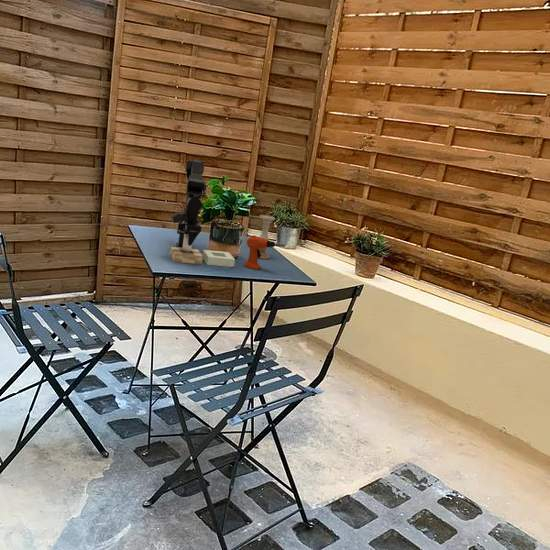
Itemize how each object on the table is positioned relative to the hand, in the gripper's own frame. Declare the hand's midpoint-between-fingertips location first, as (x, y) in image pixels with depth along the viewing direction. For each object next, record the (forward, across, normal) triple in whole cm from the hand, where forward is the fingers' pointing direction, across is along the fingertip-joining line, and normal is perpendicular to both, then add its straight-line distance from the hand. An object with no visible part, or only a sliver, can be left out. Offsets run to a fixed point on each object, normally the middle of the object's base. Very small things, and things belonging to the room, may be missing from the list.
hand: (187, 242), depth 236 cm
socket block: (+7, 0, 0) cm, 7 cm away
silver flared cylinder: (+7, 0, 0) cm, 7 cm away
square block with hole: (+7, 0, +14) cm, 16 cm away
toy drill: (+8, +7, +33) cm, 35 cm away
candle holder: (+8, -17, +40) cm, 44 cm away
